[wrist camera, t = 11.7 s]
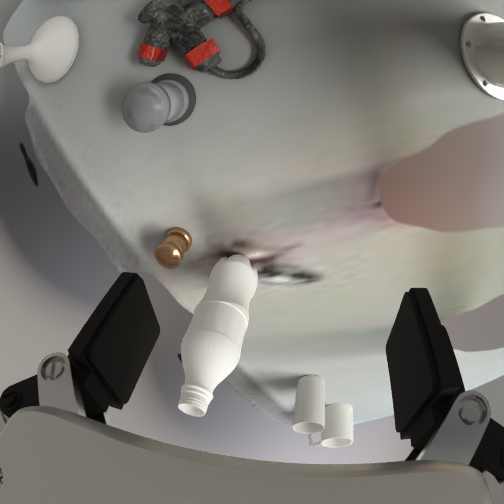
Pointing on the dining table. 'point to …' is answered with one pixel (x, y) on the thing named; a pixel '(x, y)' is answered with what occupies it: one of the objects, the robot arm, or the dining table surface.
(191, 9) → the valve
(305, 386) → the mug
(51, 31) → the flower in vase
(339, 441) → the cup
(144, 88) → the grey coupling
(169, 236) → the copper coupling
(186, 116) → the pad
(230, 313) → the water bottle
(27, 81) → the dining table surface
